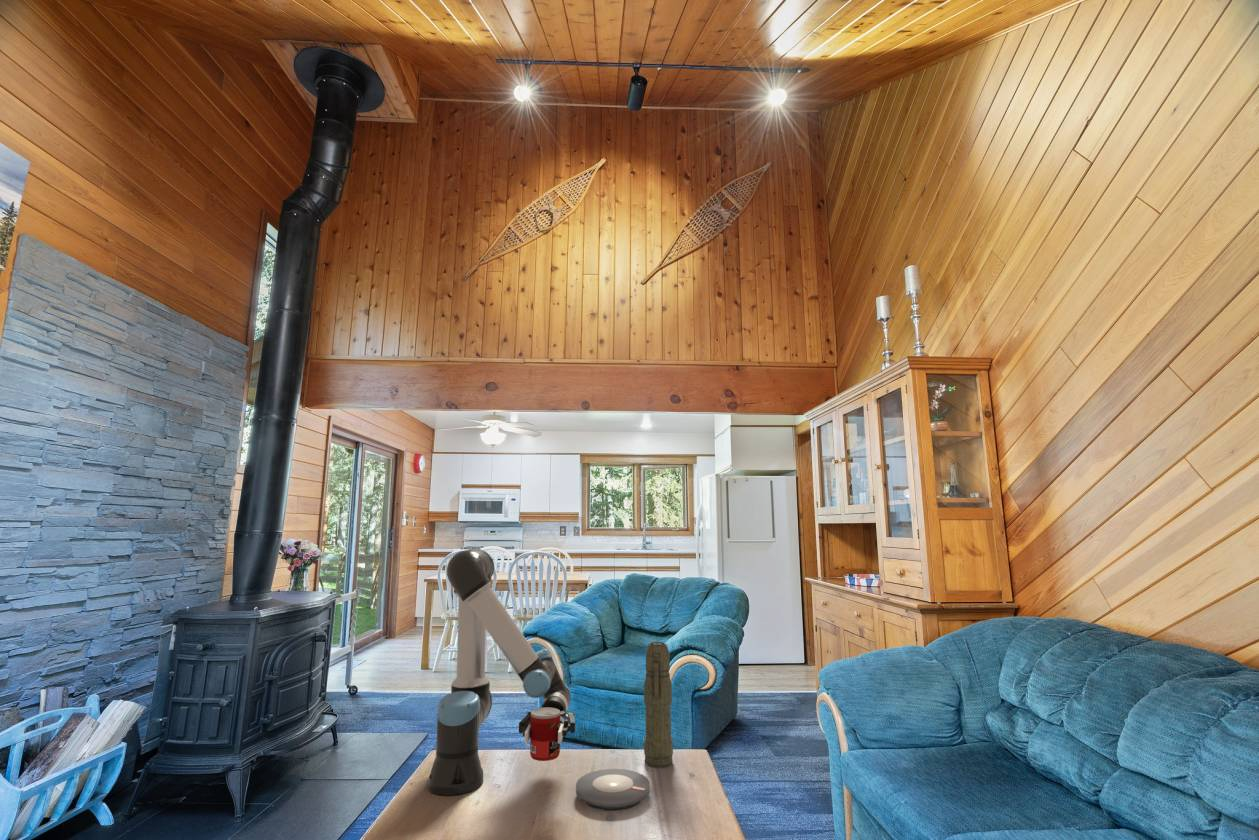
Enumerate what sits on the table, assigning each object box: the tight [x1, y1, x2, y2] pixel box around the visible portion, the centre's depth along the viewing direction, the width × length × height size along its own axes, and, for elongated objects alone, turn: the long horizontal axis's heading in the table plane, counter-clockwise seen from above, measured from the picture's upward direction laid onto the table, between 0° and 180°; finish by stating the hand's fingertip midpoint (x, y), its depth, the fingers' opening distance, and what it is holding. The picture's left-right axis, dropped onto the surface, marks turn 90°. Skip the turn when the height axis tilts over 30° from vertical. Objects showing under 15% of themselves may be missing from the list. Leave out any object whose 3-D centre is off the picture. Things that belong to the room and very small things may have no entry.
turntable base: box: [584, 801, 642, 812], centre depth 163 cm, size 16×16×2 cm
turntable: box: [575, 768, 651, 807], centre depth 164 cm, size 20×20×2 cm
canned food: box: [529, 707, 561, 762], centre depth 161 cm, size 8×8×11 cm
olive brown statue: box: [643, 641, 674, 769], centre depth 189 cm, size 9×12×35 cm
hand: (542, 737), depth 156 cm, fingers closed on canned food, 8 cm apart
